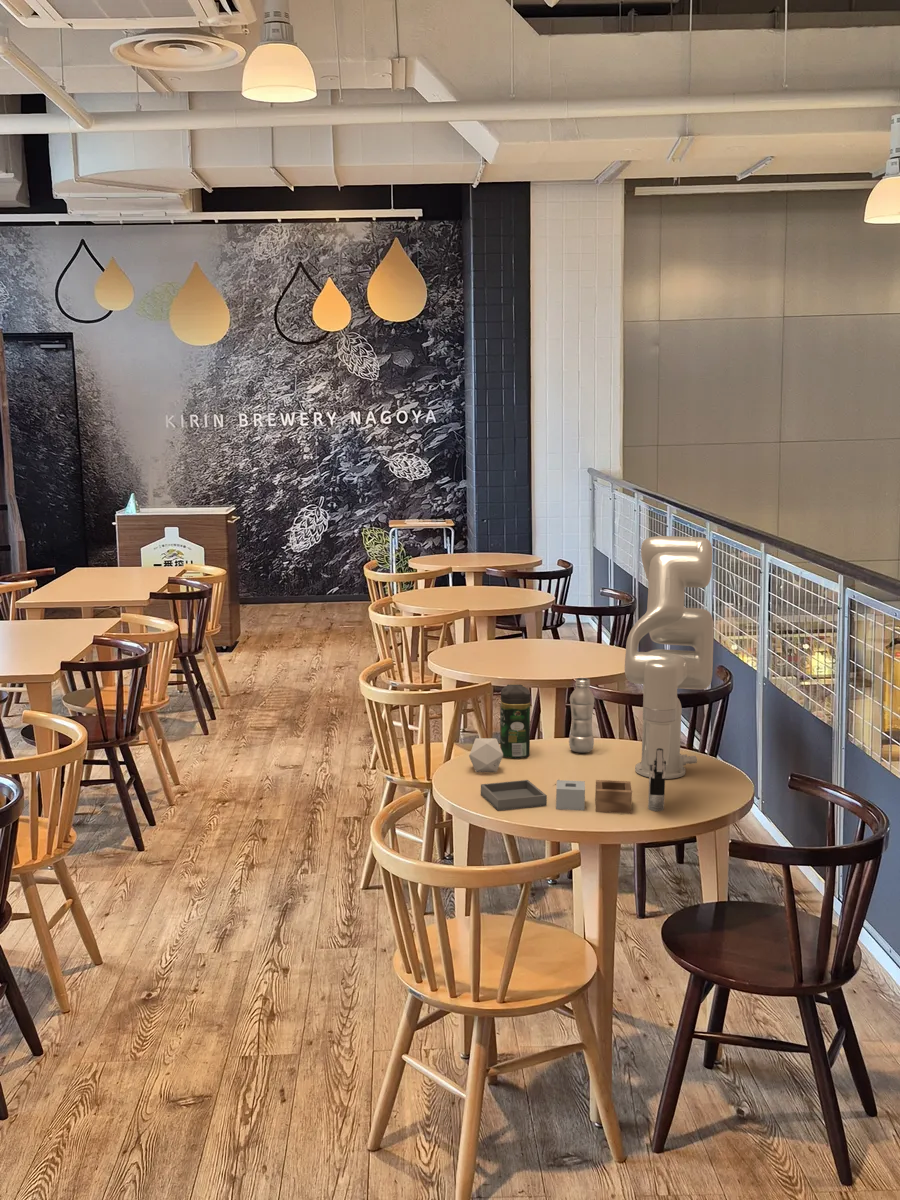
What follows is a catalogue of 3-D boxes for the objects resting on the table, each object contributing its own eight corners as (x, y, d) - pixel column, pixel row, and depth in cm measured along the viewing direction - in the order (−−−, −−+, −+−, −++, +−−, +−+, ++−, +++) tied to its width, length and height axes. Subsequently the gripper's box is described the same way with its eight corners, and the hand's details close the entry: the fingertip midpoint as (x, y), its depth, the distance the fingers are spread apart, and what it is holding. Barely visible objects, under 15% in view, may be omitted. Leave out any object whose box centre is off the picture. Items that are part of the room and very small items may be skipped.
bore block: (629, 801, 272) (630, 781, 271) (631, 813, 264) (631, 792, 263) (595, 800, 273) (595, 779, 272) (595, 811, 265) (596, 790, 264)
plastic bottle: (593, 756, 308) (595, 682, 305) (567, 754, 309) (569, 681, 306) (594, 749, 314) (596, 677, 311) (569, 747, 315) (571, 676, 312)
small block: (584, 801, 272) (584, 781, 271) (584, 811, 266) (584, 790, 265) (556, 800, 273) (556, 780, 272) (555, 809, 266) (556, 788, 266)
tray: (527, 789, 280) (527, 779, 279) (546, 805, 268) (546, 795, 268) (480, 794, 276) (480, 784, 276) (497, 810, 265) (498, 800, 264)
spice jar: (659, 805, 269) (661, 759, 268) (667, 810, 266) (668, 764, 264) (645, 806, 268) (646, 761, 267) (652, 812, 265) (654, 765, 263)
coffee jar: (498, 749, 314) (499, 682, 311) (527, 749, 314) (529, 682, 311) (500, 759, 304) (501, 690, 301) (530, 759, 304) (532, 690, 301)
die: (491, 780, 289) (512, 746, 291) (461, 761, 290) (481, 727, 291) (490, 782, 297) (510, 749, 299) (460, 763, 298) (480, 730, 300)
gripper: (640, 704, 272) (638, 779, 275) (644, 723, 256) (642, 802, 259) (673, 705, 271) (670, 781, 274) (679, 724, 255) (676, 804, 258)
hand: (656, 790), depth 266 cm, fingers closed on spice jar, 3 cm apart
